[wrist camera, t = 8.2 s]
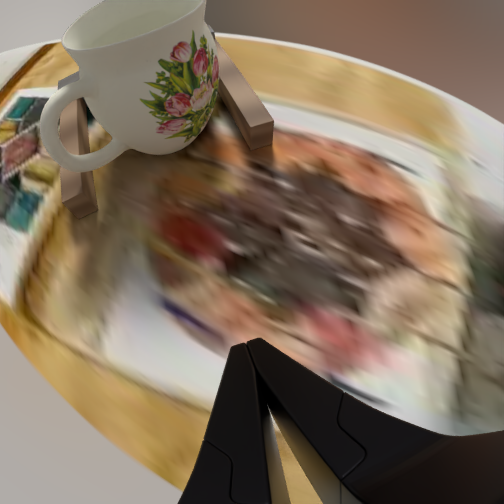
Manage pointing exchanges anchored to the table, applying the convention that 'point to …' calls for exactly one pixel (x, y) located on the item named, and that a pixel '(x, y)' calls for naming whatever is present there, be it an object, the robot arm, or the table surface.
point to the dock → (77, 141)
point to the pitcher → (137, 78)
